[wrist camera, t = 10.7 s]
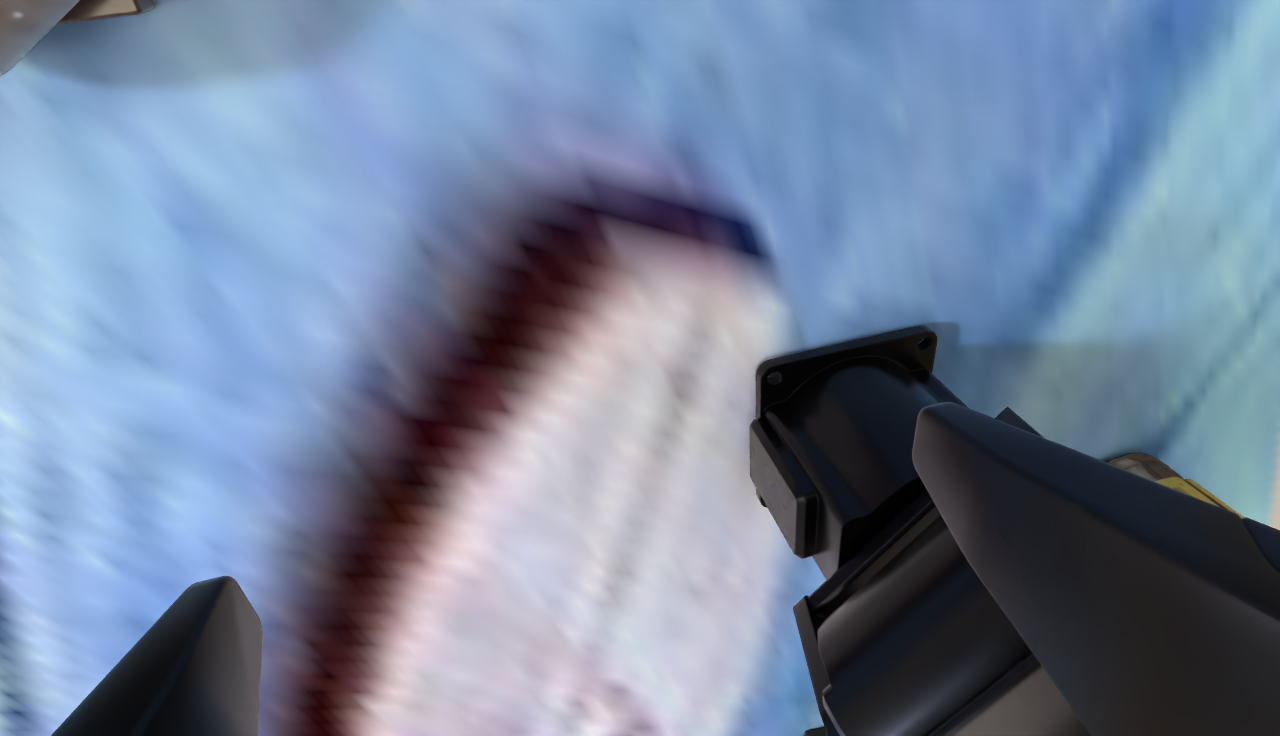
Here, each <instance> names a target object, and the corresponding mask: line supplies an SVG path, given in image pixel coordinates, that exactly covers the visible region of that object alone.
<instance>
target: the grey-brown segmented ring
mask: <svg viewBox="0 0 1280 736" xmlns="http://www.w3.org/2000/svg"><path fill="white" fill-rule="evenodd" d="M79 1H80V0H0V76H1V75H3V74H5V73H6V72H8V71H9V70H11V69H12V68H13V67H14V66H15V65H16V64H17V63H18V62H19V61H20V60H21V59H22V58H23V57H24V56H25V55H26V54H27V53H28V52H29V51H30V50H31V49H32V48H33V47H34V46H35V45H36V44H37V43H38V42H39V41H40V40H41V39H42V38H43V37H44V36H45V35H46V34H47V33H48V32H49V31H50V30H51V29H52V28H53V27H54V26H55V25H56V24H57V23H58V22H59V21H60V20H61V19H62V18H63V17H64V16H65V15H66V14H67V13H68V12H69V11H70V10H71V9H72V8H73V7H74V6H75V5H76V4H77V3H78V2H79Z"/></svg>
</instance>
